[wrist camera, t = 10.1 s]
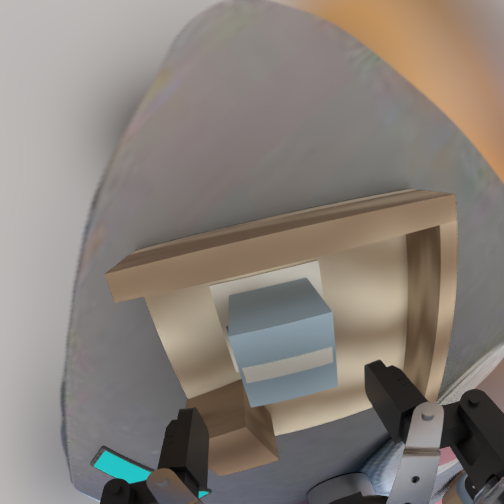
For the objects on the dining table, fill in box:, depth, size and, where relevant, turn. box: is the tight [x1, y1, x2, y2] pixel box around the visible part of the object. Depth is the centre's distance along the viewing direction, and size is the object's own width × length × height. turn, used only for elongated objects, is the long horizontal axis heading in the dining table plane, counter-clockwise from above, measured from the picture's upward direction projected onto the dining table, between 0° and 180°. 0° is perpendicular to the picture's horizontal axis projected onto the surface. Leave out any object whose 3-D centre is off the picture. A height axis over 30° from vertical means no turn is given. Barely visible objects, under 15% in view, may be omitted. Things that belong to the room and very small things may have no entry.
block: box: [228, 278, 338, 408], centre depth 16 cm, size 5×5×5 cm
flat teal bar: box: [90, 446, 211, 499], centre depth 25 cm, size 7×1×15 cm
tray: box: [104, 189, 458, 436], centre depth 18 cm, size 19×20×5 cm
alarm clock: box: [442, 470, 478, 504], centre depth 26 cm, size 21×10×22 cm, turn 90°
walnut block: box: [186, 379, 279, 476], centre depth 18 cm, size 5×5×5 cm
